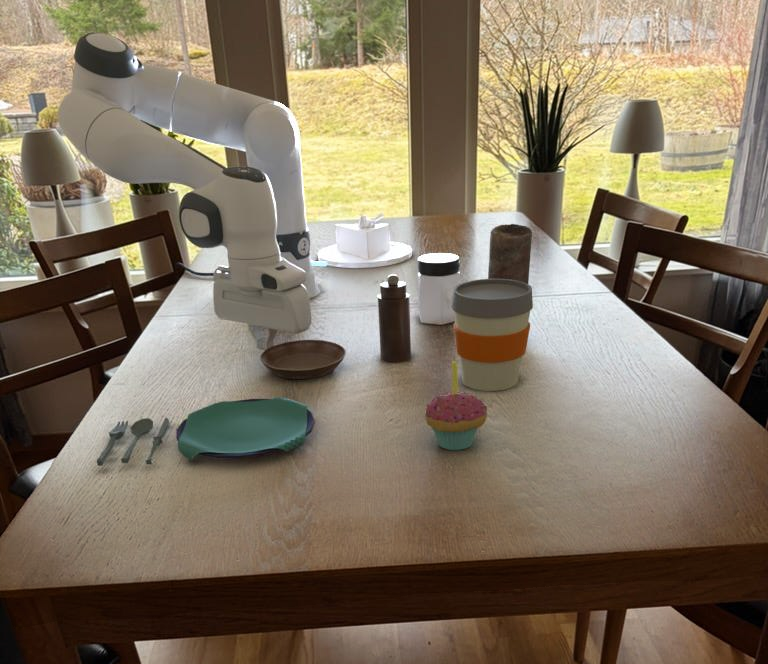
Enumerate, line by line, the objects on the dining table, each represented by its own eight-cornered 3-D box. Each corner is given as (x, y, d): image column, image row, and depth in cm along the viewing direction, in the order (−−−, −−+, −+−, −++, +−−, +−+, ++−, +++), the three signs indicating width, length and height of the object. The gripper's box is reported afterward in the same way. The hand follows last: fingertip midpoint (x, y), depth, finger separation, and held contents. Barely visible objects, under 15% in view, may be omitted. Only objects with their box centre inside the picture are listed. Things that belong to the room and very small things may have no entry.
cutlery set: (315, 463, 106) (313, 448, 105) (90, 478, 105) (86, 463, 104) (316, 405, 123) (315, 392, 122) (123, 418, 122) (120, 404, 121)
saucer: (347, 381, 132) (346, 365, 130) (258, 386, 131) (256, 371, 130) (345, 351, 144) (344, 337, 143) (264, 356, 144) (263, 342, 142)
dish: (428, 250, 212) (428, 205, 206) (378, 271, 194) (376, 224, 188) (353, 242, 224) (350, 200, 218) (299, 262, 206) (295, 217, 200)
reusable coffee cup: (483, 401, 122) (485, 305, 114) (436, 378, 131) (435, 287, 123) (545, 382, 127) (551, 289, 119) (495, 361, 136) (498, 274, 129)
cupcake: (421, 432, 113) (420, 352, 107) (480, 428, 113) (482, 347, 107) (430, 459, 106) (428, 374, 99) (492, 454, 106) (495, 369, 100)
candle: (529, 335, 148) (535, 224, 137) (522, 348, 142) (527, 232, 131) (489, 333, 150) (492, 223, 140) (480, 345, 144) (483, 231, 134)
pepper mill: (374, 359, 140) (370, 276, 133) (391, 350, 144) (388, 269, 136) (400, 364, 137) (397, 280, 130) (416, 355, 141) (414, 272, 134)
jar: (433, 328, 154) (432, 265, 148) (409, 318, 160) (407, 258, 154) (469, 318, 158) (469, 257, 152) (444, 309, 164) (444, 250, 158)
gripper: (199, 268, 137) (211, 345, 144) (288, 282, 127) (296, 364, 134) (225, 260, 142) (235, 335, 149) (313, 273, 131) (320, 353, 138)
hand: (265, 349), depth 141 cm, fingers closed
